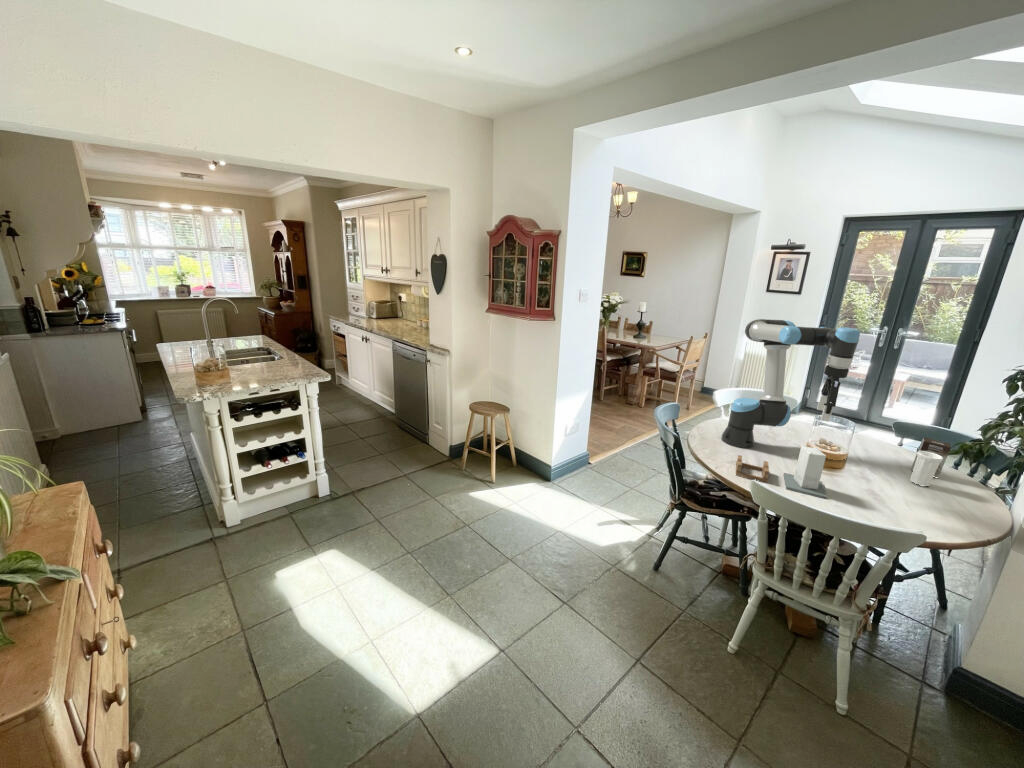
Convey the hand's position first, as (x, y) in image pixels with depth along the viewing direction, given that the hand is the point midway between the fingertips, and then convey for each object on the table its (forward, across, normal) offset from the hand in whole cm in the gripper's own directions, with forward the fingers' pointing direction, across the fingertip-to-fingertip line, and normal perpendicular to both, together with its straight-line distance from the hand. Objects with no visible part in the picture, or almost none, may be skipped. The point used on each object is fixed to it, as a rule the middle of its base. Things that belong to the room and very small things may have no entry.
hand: (822, 415), depth 173 cm
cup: (+31, -25, +45) cm, 60 cm away
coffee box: (+31, -40, +50) cm, 72 cm away
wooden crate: (+30, +8, -20) cm, 38 cm away
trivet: (+30, +8, 0) cm, 31 cm away
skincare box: (+29, +8, 0) cm, 30 cm away
